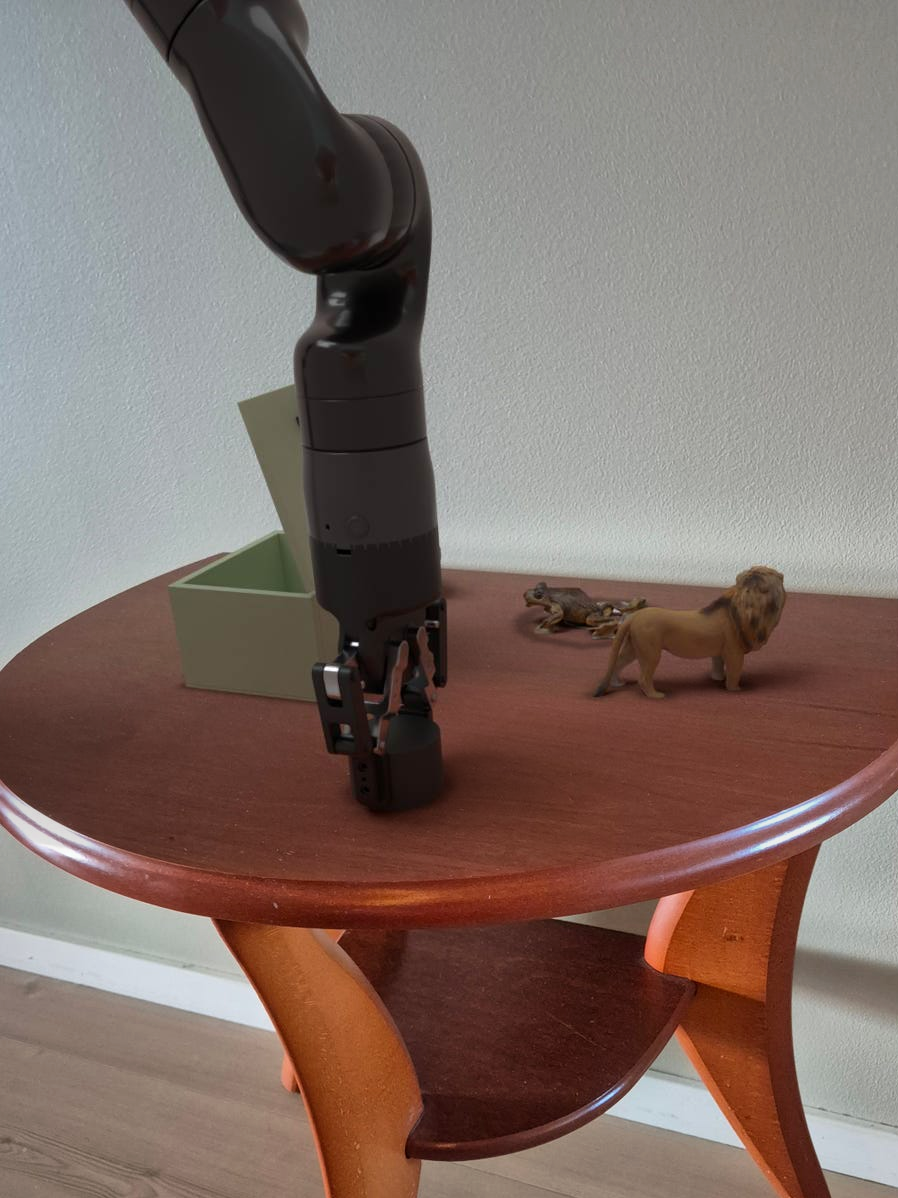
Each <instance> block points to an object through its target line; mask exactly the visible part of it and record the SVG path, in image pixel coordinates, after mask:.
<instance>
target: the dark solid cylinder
mask: <svg viewBox="0 0 898 1198" xmlns="http://www.w3.org/2000/svg"><path fill="white" fill-rule="evenodd" d="M368 723H369V728H370V733H371V734H372V732H373V723H374V717H371V718H368ZM441 733H442V732H441V728H440V725H439V724H438V723H436V722H435V721H434V720H433V721H432V720H430V719H428V718H425V717H421V716H416V715H404V714H398V713H397V714H396V715H395V716H394V717H392V718H391V719H390V721H389V730H388V739H387V747H386V751H388V756H389V766H390V776H391V786H392V796H393V800H392V802H391V803H390V804H389V805H388V806H387V807H386V808H375V807H369V806H365V807H366V808H368V809H372V810H378V811H389V812H390V811H393V812H394V811H404V810H410V809H415V808H419V807H422V806H426V805H428V804H429V803H431V802H433V801H435V800H437V799H438V798H439V797H440V796H441V795H442V794H443V792H444V790H445V775H444V763H443V762H444V760H443V748H442V747H443V746H442V736H441V735H442V734H441ZM347 760H348V761H347V762H348V770H349V779H350V784H351V785H350V786H351V794H352V797H353V800H355V801H356V802H357V803H358V801H357V799H356V793H355V784H354V776H353V767H352V759H351V756H347Z"/></svg>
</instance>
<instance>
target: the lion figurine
mask: <svg viewBox="0 0 898 1198" xmlns="http://www.w3.org/2000/svg"><path fill="white" fill-rule="evenodd" d="M784 579H785V576H784V573H782V572H778V571H777V570H776V569H775V568H771V567H767V566H764V565H754V566H751V567H750V568H749V569H745V570H743V571H742V572H740V573H738V574H736V576H735V584H734V585H731V586H729V588H728V589H727V590H725V591H724V592H722V594H721V595H719V596H718V597H717V598H716V599H713V600H712V601H711V602H710V603H709V604H708V605H707V606H705V607H702V608H701V609H693V610H674V609H673V610H672V609H667V608H663V607H658V606H648V608H644V609H641V610H638V611H636V612H634V613H632V614H631V615H629V616H628V617H627V618H626V619H625V620H624V621H623V622H622V624H619V627H618V629H617V630H616V632H615V634H616V635H615V638H613V640H612V644H611V648H610V652H609V656H608V657H609V658H608V662H607V666H606V667H607V668H606V672H605V675H604V677H603V680H602V682H601V683H600V684H599V685H598V687H597V688H596V690H595V691H594V692H593V693H592V697H602V696H603V695H604V694H605V693H606V692H607V690H608V689H609V687H623V686H624V685H626V681H624V680H622V679H619V676H620V675H621V672H622V671H623V670H624V669H625V668H626V667H628V666H629V665H631V664H632V663H633V662H634V661H636V660H637V661H638V664H639V668H640V671H639V675H638V680H637V682H638V683H637V684H638V685H639V687H640V688H641V690H642V691H643V693H644V695H645V696H646V697H648V698H656V699H661V698H665V696H666V694H665V693H663V692H661V691H660V692H659V691H657V690H656V689H655V687H654V683H653V679H654V675H655V673H656V671H657V667H658V666H659V664H660V662H661V657H662V651H665V652H667V653H669V654H670V655H672V656H674V657H677V658H681V659H685V660H693V661H694V660H703V659H704V660H705V659H710V658H711V672H710V678H711V679H712V680H715V681H724V680H725V687H726V690H728V691H734V692H735V691H740V690H742V688H741V686H739V682H740V679H741V675H742V671H743V667H744V663H745V662H744V661H745V655H748V654H750V653H752V652H758V651H760V650H761V649H762V647H764V646H766V645H767V644H768V641H769V639H770V637H771V636H772V633H773V632H774V630H775V629H776V628H777V626H778V625H779V623H780V621H781V616H782V613H783V610H784V608H785V604H786V601H787V598H788V595H787V592H786V589H785V586H784ZM624 639H625V640H624ZM623 643H624V644H623ZM622 645H623V646H622Z"/></svg>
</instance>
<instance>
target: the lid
mask: <svg viewBox="0 0 898 1198" xmlns="http://www.w3.org/2000/svg"><path fill="white" fill-rule="evenodd" d="M236 404H237V407H238V410H239V412H240V415H241V418H242V420H243V423H244V426H245V429H246V431H247V434H248V437H249V439H250V443H251V445H252V448H253V451H254V453H255V456H256V459H257V462H258V464H259V467H260V470H261V473H262V475H263V478H264V480H265V483H266V486H267V489H268V491H269V494H270V497H271V500H272V502H273V505H274V508H275V511H276V513H277V516H278V519H279V522H280V525H281V527H282V531H284V533H285V535H286V538H287V541H288V544H289V546H290V549H291V552H292V555H293V557H294V560H295V563H296V565H297V568H298V571H299V574H300V576H301V579H302V582H303V585H304V587H305V590H306V592H310V591H315V584H314V576H313V568H312V559H311V552H310V544H309V536H308V528H307V520H306V511H305V503H304V495H303V481H302V471H303V453H302V442H301V434H300V425H299V417H298V409H297V401H296V392H295V383H292V384H289V385H285V386H282V387H279V388H277V389H273V390H271V391H268V392H267V391H266V392H264V393H261V394H258V395H255V396H252V397H249V398H246V399H244V400H240V401H237V402H236Z"/></svg>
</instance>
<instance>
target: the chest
mask: <svg viewBox="0 0 898 1198" xmlns="http://www.w3.org/2000/svg"><path fill="white" fill-rule="evenodd" d="M167 592H168V596H169V602H170V607H171V612H172V618H173V623H174V628H175V635H176V639H177V646H178V650H179V655H180V660H181V666H182V671H183V676H184V682H185V687H186V688H194V689H202V690H211V691H217V692H219V691H220V692H228V693H237V694H243V695H244V694H245V695H254V696H261V697H270V698H271V697H272V698H279V699H287V700H295V701H305V702H312V703H313V702H314V703H317V700H316V695H315V690H314V686H313V681H312V668H313V666H314V664H315V663H317V662H319V663H331V662H332V661H333V660H334V659H335V658H336V657H337V656H338V640H339V622H338V620H337V619H336V618H335V617H334V616H333V615H332V614H331V613H330V612H328V611H326V610H324V609H323V608H322V607H321V606H320V605H319V603H318V602H317V599H316V592H315V591H310V592H306V590H305V587H304V585H303V582H302V579H301V576H300V574H299V571H298V568H297V565H296V563H295V560H294V557H293V555H292V552H291V549H290V546H289V544H288V541H287V538H286V535H285V533H284V530H278V529H275V530H273V531H271V532H269V533H267V534H265V535H264V536H262V537H259V538H258V539H256V540H253V541H252V542H250V543H248V544H246V545H244V546H242V547H240V548H238V549H236V550H234V551H232V552H231V553H229V554H227V555H225V556H223V557H221V558H219V559H217V560H215V561H213V562H211V563H209V564H206V565H205V566H204V567H203V566H202V567H201V568H199V569H197V570H196V571H194V572H192V573H190V574H188V575H186V576H183V577H182V578H180V579H178V580H176V581H174V582H172V583H170V584H169V585H167Z"/></svg>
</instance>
